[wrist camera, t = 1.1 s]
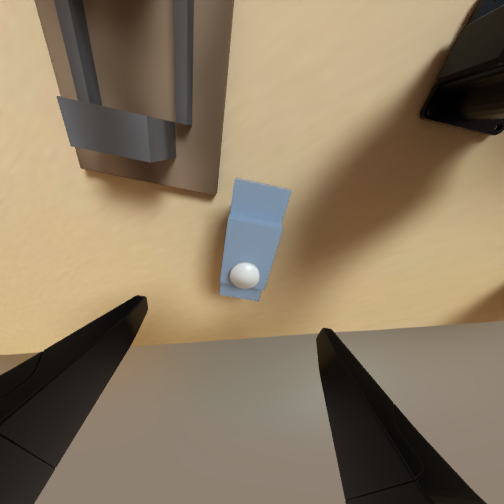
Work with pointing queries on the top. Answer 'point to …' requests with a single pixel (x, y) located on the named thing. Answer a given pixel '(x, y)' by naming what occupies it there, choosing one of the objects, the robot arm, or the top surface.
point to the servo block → (252, 237)
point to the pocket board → (143, 85)
